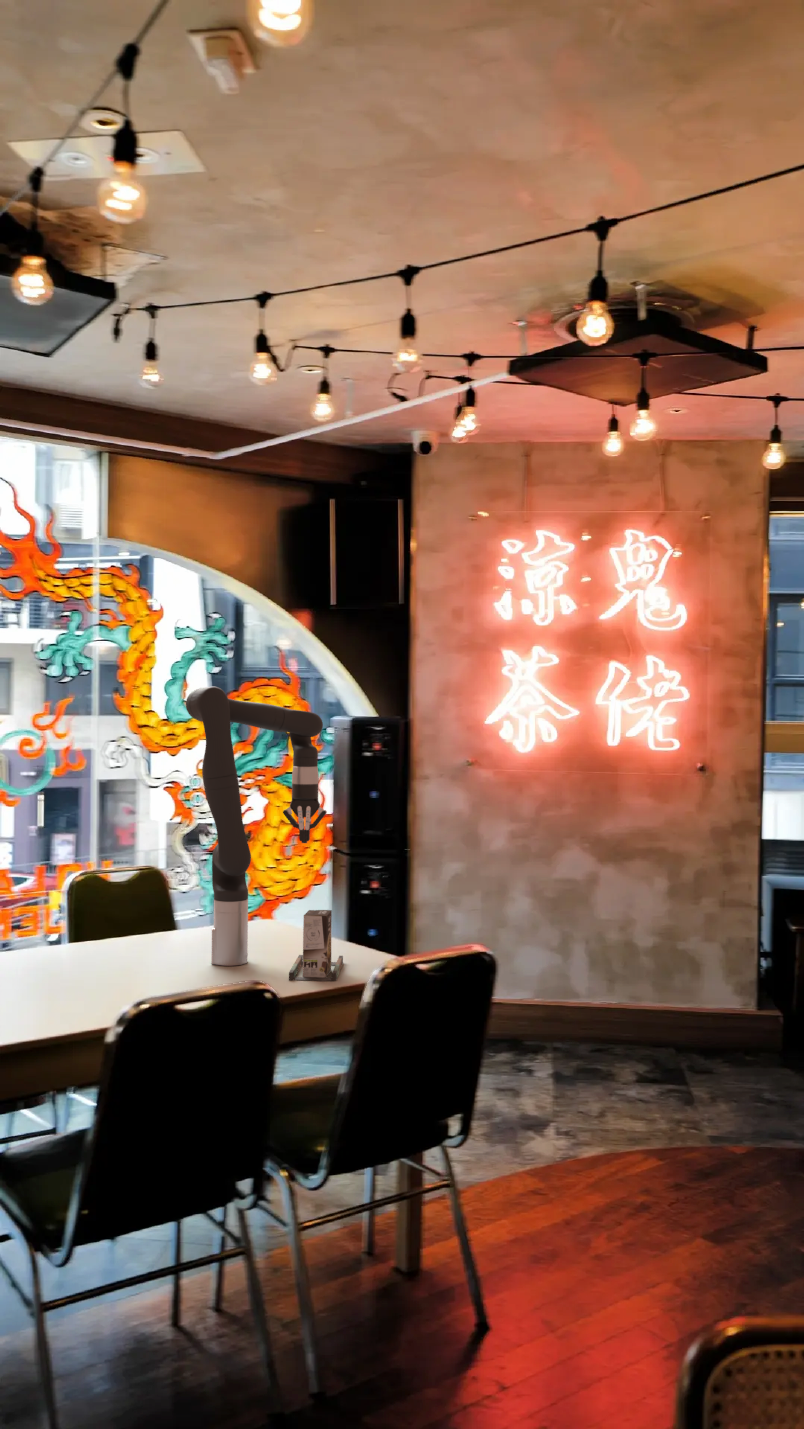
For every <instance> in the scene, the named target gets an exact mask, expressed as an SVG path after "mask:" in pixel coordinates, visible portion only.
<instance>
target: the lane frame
mask: <svg viewBox="0 0 804 1429" xmlns="http://www.w3.org/2000/svg"><path fill="white" fill-rule="evenodd" d="M343 964H344V956H343V955H338V958H337V960H336V961H331V967H333V966H334V968H333V970H332V972H331V977H328V976H327V977H303V976H297V974H296V973H298V972H299V969H300V968H301V966H303V954H298V956H297V958H296V959H295V961H294V963H293V965H292V966H291V968H290V969H289V972H288V981H299V982H300V981H303V982H306V981H307V982H308V981H309V982H310V981H311V982H337V980H338V977H339V974H340V972H341V969H342V967H343Z"/></svg>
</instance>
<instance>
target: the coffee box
mask: <svg viewBox="0 0 804 1429" xmlns="http://www.w3.org/2000/svg"><path fill="white" fill-rule="evenodd" d="M332 912H333V910H330V909H309V910H308V911H307V912H306V913H304V914H303V926H302V928H303V929H302V930H303V932H302V933H303V934H302V935H303V936H302V938H303V939H302V940H303V941H302V955H303V965H302V977H327V978H328V975H329V973H331V971H332V966H331V962H332V928H333V927H332V924H333V923H332V921H333V920H332V916H333V915H332Z"/></svg>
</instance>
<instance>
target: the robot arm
mask: <svg viewBox="0 0 804 1429" xmlns="http://www.w3.org/2000/svg"><path fill="white" fill-rule="evenodd" d="M185 708H186V712H187V713H188V715H189V716H190V717H191V718H193V719H194V720H197V721H199V722H202V723H203V724H202V725H203V728H204V734H205V750H204V756H203V761H202V769H201V770H202V771H201V774H202V782H203V788H204V793H205V797H206V802H207V804H208V807H209V811H210V813H211V815H212V817H213V821H214V824H215V828H216V835H217V844H216V846H215V847H214V849H213V851H212V856H211V876H212V877H211V880H212V881H211V884H212V890H213V927H212V929H211V963H210V964H211V965H217V966H226V967H227V966H228V967H229V966H240V965H245V964H247V963H248V955H249V954H248V953H249V950H248V949H249V948H248V945H249V944H248V939H249V936H248V935H249V932H248V930H249V889H248V886H247V879H246V871H248V869H249V867H250V865H251V861H252V853H251V850H250V846H249V843H248V839H247V836H246V832H245V831H246V830H245V827H244V823H243V822H244V821H243V813H242V811H243V810H242V801H241V793H240V785H239V784H240V783H239V778H238V770H237V766H236V760H235V759H236V758H235V753H234V748H233V746H234V745H233V741H232V732H231V731H232V730H231V723H236V724H241V725H245V726H250V727H255V728H259V729H263V730H267V731H268V730H269V731H272V732H273V731H274V732H279V733H280V732H281V733H282V732H283V733H288V734H289V739H290V743H291V747H292V750H293V755H292V766H293V767H292V772H291V778H292V779H291V802H290V803H289V807H287V808H285V809H283V810H282V814H283V815H284V817H285V818H286V819H287V821H288V822H289V823H290V825H291V826H292V827H293V828H294V829H295V828H296V829H298V830H299V831H298V832H299V834H298V835H299V838H298V840H299V841H300V842H301V844H308V842H309V841H310V839H311V836H310V835H311V832H310V831H311V829H315V828H316V827H317V825H318V824H319V823H320V822H321V820H323V818H324V817H325V816H326V814H327V810H326V809H324V808H322V807H321V804H320V802H319V768H318V767H319V766H318V763H319V762H318V759H319V758H318V757H319V753H318V749H317V747H316V746H314V745H313V742H312V738H313V737H316V736H319V735H320V733H321V732H322V730H323V728H324V726H323V725H324V724H323V720H322V717H320V716H319V715H318V714H317V713H315V712H311V711H306V710H305V711H304V710H299V709H298V710H297V709H290V708H287V707H282V706H278V705H273V704H270V703H262V702H254V701H243V700H238V699H237V700H236V699H232V698H229V697H228V696H227V694H226V692H225V691H224V690H223V689H222V688H220V687H218V686H205V687H199V688H196V689H194V690H193V691H191V692H190V693H189V695H188V696H187V697H186V700H185ZM293 813H294V815H295V816H296V817H297V818H298V819H297V820H298V822H297V821H296V819H295V818H294V817H293V815H292V814H293ZM316 813H317V815H318V816H317V818H316V819H315V820H314V821H313V822H312V818H313V816H314V815H315V814H316Z"/></svg>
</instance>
